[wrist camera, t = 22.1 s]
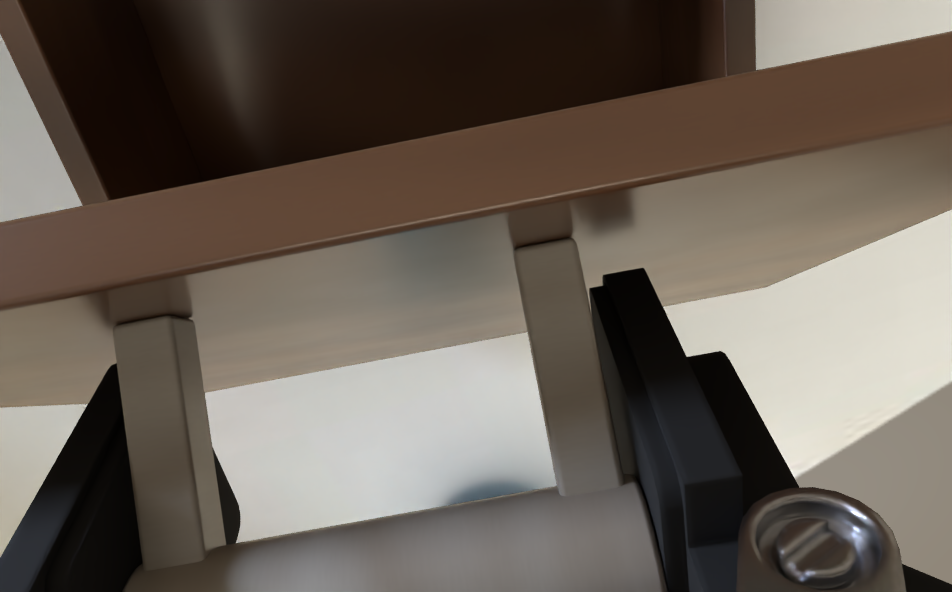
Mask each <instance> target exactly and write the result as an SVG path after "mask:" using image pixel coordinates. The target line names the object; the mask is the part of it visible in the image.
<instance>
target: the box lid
mask: <svg viewBox="0 0 952 592" xmlns="http://www.w3.org/2000/svg"><path fill="white" fill-rule="evenodd" d="M951 209H952V31H951V32H946V33H941V34H936V35H931V36H926V37H921V38H916V39H911V40H906V41H901V42H896V43H891V44H886V45H881V46H876V47H871V48H866V49H861V50H856V51H851V52H846V53H841V54H836V55H831V56H826V57H821V58H816V59H811V60H806V61H801V62H796V63H791V64H786V65H781V66H776V67H771V68H766V69H762V70H757V71H752V72H747V73H742V74H737V75H732V76H727V77H722V78H717V79H712V80H707V81H702V82H697V83H692V84H687V85H682V86H677V87H672V88H667V89H662V90H657V91H652V92H647V93H642V94H637V95H632V96H627V97H622V98H617V99H612V100H607V101H602V102H597V103H592V104H587V105H582V106H577V107H572V108H567V109H562V110H557V111H552V112H547V113H543V114H538V115H533V116H528V117H523V118H518V119H513V120H508V121H503V122H498V123H493V124H488V125H483V126H478V127H473V128H468V129H463V130H458V131H453V132H448V133H443V134H438V135H433V136H428V137H423V138H418V139H413V140H408V141H403V142H398V143H393V144H388V145H383V146H378V147H373V148H368V149H363V150H358V151H353V152H348V153H343V154H338V155H333V156H328V157H324V158H319V159H314V160H309V161H304V162H299V163H294V164H289V165H284V166H279V167H274V168H269V169H264V170H259V171H254V172H249V173H244V174H239V175H234V176H229V177H224V178H219V179H214V180H209V181H204V182H199V183H194V184H189V185H184V186H179V187H174V188H169V189H164V190H159V191H154V192H149V193H144V194H139V195H134V196H129V197H124V198H119V199H114V200H109V201H105V202H100V203H95V204H90V205H85V206H80V207H75V208H70V209H65V210H60V211H55V212H50V213H45V214H40V215H35V216H30V217H25V218H20V219H15V220H10V221H5V222H0V407H22V406H46V405H69V404H88V403H89V402H90V400H91V398H92V396H93V395H94V393H95V391H96V389H97V388H98V386H99V384H100V382H101V381H102V379H103V377H104V375H105V374H106V372H107V370H108V369H109V368H110V366H111V365H113V364H116V363H117V369H118V377H119V384H120V392H121V400H122V408H123V415H124V423H125V431H126V438H127V446H128V454H129V461H130V469H131V477H132V484H133V492H134V500H135V507H136V515H137V523H138V530H139V538H140V546H141V553H142V561H143V564H141V565H140V566H138V567H137V568H136V569H135V570H134V572H133V573H132V574H131V576H130V577H129V579H128V581H127V582H126V585H125V587H124V589H123V591H122V592H668V588H667V583H666V578H665V573H664V568H663V564H662V559H661V555H660V550H659V546H658V542H657V538H656V534H655V530H654V527H653V523H652V519H651V516H650V512H649V509H648V506H647V503H646V500H645V497H644V494H643V491H642V489H641V486H640V484H639V482H638V481H637V479H636V478H635V476H634V475H631V474H623V469H622V464H621V459H620V454H619V449H618V444H617V439H616V434H615V429H614V424H613V419H612V414H611V409H610V404H609V399H608V395H607V390H606V385H605V380H604V375H603V370H602V365H601V360H600V355H599V350H598V345H597V340H596V335H595V330H594V325H593V320H592V313H591V305H590V297H589V288H593V287H598V286H603V283H602V277H603V275H605V274H610V273H616V272H621V271H627V270H632V269H638V268H644V269H645V271H646V273H647V275H648V277H649V279H650V281H651V283H652V285H653V287H654V289H655V292H656V294H657V296H658V298H659V300H660V302H661V304H662V306H669V305H674V304H679V303H685V302H690V301H695V300H701V299H706V298H711V297H717V296H722V295H727V294H732V293H738V292H743V291H748V290H754V289H759V288H764V287H768V286H770V285H772V284H775V283H777V282H780V281H782V280H784V279H787V278H789V277H791V276H794V275H796V274H799V273H801V272H803V271H806V270H808V269H811V268H813V267H815V266H818V265H820V264H822V263H825V262H827V261H830V260H832V259H834V258H837V257H839V256H842V255H844V254H846V253H849V252H851V251H853V250H856V249H858V248H861V247H863V246H865V245H868V244H870V243H873V242H875V241H877V240H880V239H882V238H885V237H887V236H889V235H892V234H894V233H896V232H899V231H901V230H904V229H906V228H908V227H911V226H913V225H916V224H918V223H920V222H923V221H925V220H927V219H930V218H932V217H935V216H937V215H939V214H942V213H944V212H947V211H949V210H951ZM525 332H528V337H529V342H530V348H531V353H532V358H533V363H534V368H535V374H536V379H537V384H538V389H539V395H540V400H541V405H542V410H543V415H544V421H545V426H546V431H547V436H548V442H549V447H550V452H551V457H552V462H553V468H554V473H555V478H556V483H557V486H554V487H549V488H543V489H537V490H532V491H526V492H521V493H515V494H509V495H504V496H498V497H493V498H487V499H481V500H476V501H470V502H465V503H459V504H453V505H448V506H442V507H436V508H431V509H425V510H420V511H414V512H408V513H403V514H397V515H392V516H386V517H380V518H375V519H369V520H364V521H358V522H352V523H347V524H341V525H336V526H330V527H324V528H319V529H313V530H308V531H302V532H296V533H291V534H285V535H280V536H274V537H268V538H263V539H257V540H252V541H246V542H240V543H235V544H229V545H226V540H225V533H224V526H223V519H222V512H221V505H220V498H219V491H218V484H217V477H216V470H215V463H214V456H213V449H212V442H211V435H210V428H209V421H208V414H207V407H206V400H205V393H206V392H211V391H216V390H222V389H227V388H232V387H238V386H243V385H248V384H254V383H259V382H264V381H270V380H275V379H280V378H286V377H291V376H296V375H302V374H307V373H312V372H318V371H323V370H328V369H333V368H339V367H344V366H349V365H355V364H360V363H365V362H371V361H376V360H381V359H387V358H392V357H397V356H403V355H408V354H413V353H419V352H424V351H429V350H435V349H440V348H445V347H451V346H456V345H461V344H466V343H472V342H477V341H482V340H488V339H493V338H498V337H504V336H509V335H514V334H520V333H525Z"/></svg>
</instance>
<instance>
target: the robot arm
mask: <svg viewBox="0 0 952 592" xmlns="http://www.w3.org/2000/svg"><path fill="white" fill-rule="evenodd" d="M602 283H603V286H598V287H593V288H589V297H590V305H591V313H592V320H593V325H594V330H595V335H596V340H597V345H598V350H599V355H600V360H601V365H602V370H603V375H604V380H605V385H606V390H607V395H608V399H609V404H610V409H611V414H612V419H613V424H614V429H615V434H616V439H617V444H618V449H619V454H620V459H621V464H622V469H623V474H631V475H634V476H635V478H636V479H637V481H638V482H639V484H640V486H641V489H642V491H643V494H644V497H645V500H646V503H647V506H648V509H649V512H650V516H651V519H652V523H653V527H654V530H655V534H656V538H657V542H658V546H659V550H660V555H661V559H662V564H663V568H664V573H665V578H666V583H667V588H668V592H952V585H951V584H949V583H946V582H944V581H942V580H939V579H937V578H935V577H932V576H930V575H927V574H925V573H923V572H920V571H918V570H915V569H913V568H911V567H908V566H906V565H903V564H902V562H901V555H900V549H899V547H898V544H897V541H896V539H895V536H894V533H893V531H892V530H891V528H890V527H889V526H888V525H887V524H886V522H885V521H884V520H883V519H882V518H881V517H880V515H879V514H878V513H876V512H875V511H873V510H872V509H871V508H869V507H867V506H866V505H865V504H863V503H862V502H860V501H859V500H856V499H854V498H851V497H849V496H846V495H844V494H841V493H839V492H836V491H831V490H825V489H819V488H813V487H812V488H811V487H809V488H799V486H798V484H797V482H796V480H795V479H794V477H793V475H792V473H791V471H790V469H789V468H788V466H787V464H786V462H785V460H784V459H783V457H782V455H781V453H780V451H779V449H778V448H777V446H776V444H775V442H774V440H773V438H772V437H771V435H770V433H769V431H768V429H767V428H766V426H765V424H764V422H763V420H762V418H761V417H760V415H759V413H758V411H757V409H756V408H755V406H754V404H753V402H752V400H751V398H750V397H749V395H748V393H747V391H746V389H745V388H744V386H743V384H742V382H741V380H740V378H739V377H738V375H737V373H736V371H735V369H734V367H733V366H732V364H731V362H730V360H729V359H728V357H727V356H726V354H725V353H723V352H721V351H719V352H713V353H707V354H702V355H696V356H690V357H686V355H685V353H684V351H683V349H682V346H681V344H680V342H679V340H678V338H677V336H676V334H675V332H674V330H673V327H672V325H671V323H670V321H669V319H668V317H667V315H666V313H665V311H664V308H663V306H662V304H661V302H660V300H659V298H658V296H657V294H656V292H655V289H654V287H653V285H652V283H651V281H650V279H649V277H648V275H647V273H646V271H645V269H644V268H638V269H632V270H627V271H621V272H616V273H610V274H605V275H603V277H602ZM212 449H213V447H212ZM213 456H214V463H215V470H216V477H217V484H218V491H219V498H220V505H221V512H222V519H223V526H224V533H225V540H226V545H229V544H235V543H236V540H237V537H238V533H239V528H240V510H239V505H238V503H237V500H236V498H235V496H234V493H233V491H232V489H231V487H230V485H229V482H228V480H227V478H226V476H225V474H224V472H223V469H222V467H221V465H220V463H219V461H218V458H217V456H216V454H215V452H214V450H213ZM141 564H143V561H142V553H141V546H140V538H139V530H138V523H137V515H136V507H135V500H134V492H133V484H132V477H131V469H130V461H129V454H128V446H127V438H126V431H125V423H124V415H123V408H122V400H121V392H120V384H119V377H118V369H117V363H116V364H113V365H111V366H110V368H109V369H108V370H107V372H106V374H105V375H104V377H103V379H102V381H101V382H100V384H99V386H98V388H97V389H96V391H95V393H94V395H93V396H92V398H91V400H90V402H89V403H88V405H87V407H86V409H85V410H84V412H83V414H82V416H81V417H80V419H79V421H78V423H77V424H76V426H75V428H74V430H73V431H72V433H71V435H70V437H69V438H68V440H67V442H66V444H65V445H64V447H63V449H62V451H61V452H60V454H59V456H58V458H57V459H56V461H55V463H54V465H53V466H52V468H51V470H50V472H49V473H48V475H47V477H46V479H45V480H44V482H43V484H42V486H41V488H40V489H39V491H38V493H37V495H36V496H35V498H34V500H33V502H32V503H31V505H30V507H29V509H28V510H27V512H26V514H25V516H24V517H23V519H22V521H21V523H20V524H19V526H18V528H17V530H16V531H15V533H14V535H13V537H12V538H11V540H10V542H9V544H8V545H7V547H6V549H5V551H4V552H3V554H2V556H1V558H0V592H122V591H123V589H124V587H125V585H126V582H127V581H128V579H129V577H130V576H131V574H132V573H133V572H134V570H135V569H136V568H137V567H138V566H140V565H141Z"/></svg>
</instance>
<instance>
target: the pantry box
mask: <svg viewBox="0 0 952 592" xmlns="http://www.w3.org/2000/svg"><path fill="white" fill-rule="evenodd" d="M0 34H1V36H2V38H3V40H4V42H5V44H6V46H7V49H8V51H9V53H10V55H11V57H12V59H13V61H14V63H15V65H16V67H17V69H18V71H19V74H20V76H21V78H22V80H23V82H24V84H25V86H26V88H27V90H28V92H29V94H30V96H31V99H32V101H33V103H34V105H35V107H36V109H37V111H38V113H39V115H40V117H41V119H42V121H43V124H44V126H45V128H46V130H47V132H48V134H49V136H50V138H51V140H52V142H53V144H54V147H55V149H56V151H57V153H58V155H59V157H60V159H61V161H62V163H63V165H64V167H65V169H66V172H67V174H68V176H69V178H70V180H71V182H72V184H73V186H74V188H75V190H76V192H77V194H78V197H79V199H80V201H81V203H82V205H83V206H85V205H90V204H95V203H100V202H105V201H109V200H114V199H119V198H124V197H129V196H134V195H139V194H144V193H149V192H154V191H159V190H164V189H169V188H174V187H179V186H184V185H189V184H194V183H199V182H204V181H209V180H214V179H219V178H224V177H229V176H234V175H239V174H244V173H249V172H254V171H259V170H264V169H269V168H274V167H279V166H284V165H289V164H294V163H299V162H304V161H309V160H314V159H319V158H324V157H328V156H333V155H338V154H343V153H348V152H353V151H358V150H363V149H368V148H373V147H378V146H383V145H388V144H393V143H398V142H403V141H408V140H413V139H418V138H423V137H428V136H433V135H438V134H443V133H448V132H453V131H458V130H463V129H468V128H473V127H478V126H483V125H488V124H493V123H498V122H503V121H508V120H513V119H518V118H523V117H528V116H533V115H538V114H543V113H547V112H552V111H557V110H562V109H567V108H572V107H577V106H582V105H587V104H592V103H597V102H602V101H607V100H612V99H617V98H622V97H627V96H632V95H637V94H642V93H647V92H652V91H657V90H662V89H667V88H672V87H677V86H682V85H687V84H692V83H697V82H702V81H707V80H712V79H717V78H722V77H727V76H732V75H737V74H742V73H747V72H752V71H756V39H755V0H0Z"/></svg>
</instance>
